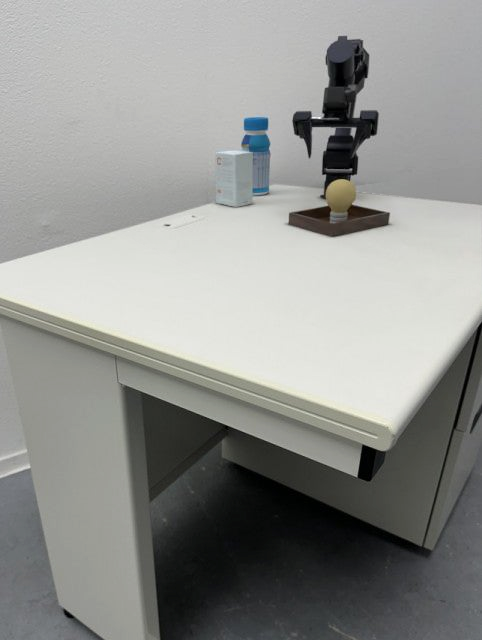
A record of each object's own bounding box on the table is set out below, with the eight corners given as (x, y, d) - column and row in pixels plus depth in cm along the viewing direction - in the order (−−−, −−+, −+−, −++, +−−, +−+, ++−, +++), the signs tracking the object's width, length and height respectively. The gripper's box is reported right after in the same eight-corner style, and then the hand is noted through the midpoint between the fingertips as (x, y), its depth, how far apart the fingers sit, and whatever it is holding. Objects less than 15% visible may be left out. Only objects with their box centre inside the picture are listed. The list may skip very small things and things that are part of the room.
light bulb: (317, 227, 121) (321, 180, 117) (332, 221, 126) (336, 176, 121) (343, 231, 118) (347, 183, 113) (357, 225, 122) (362, 178, 117)
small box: (252, 203, 146) (253, 151, 140) (235, 207, 143) (235, 154, 137) (232, 199, 152) (232, 149, 146) (215, 203, 148) (214, 152, 142)
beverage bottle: (261, 197, 154) (262, 119, 144) (235, 194, 158) (235, 118, 149) (274, 191, 160) (276, 116, 151) (249, 189, 164) (249, 116, 155)
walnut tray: (342, 213, 133) (343, 202, 132) (388, 224, 123) (390, 212, 121) (288, 224, 126) (288, 212, 124) (332, 236, 115) (333, 224, 114)
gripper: (295, 71, 120) (284, 136, 118) (383, 68, 114) (374, 136, 112) (299, 104, 130) (290, 164, 128) (381, 103, 125) (372, 165, 123)
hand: (329, 157), depth 123 cm, fingers open, 9 cm apart
